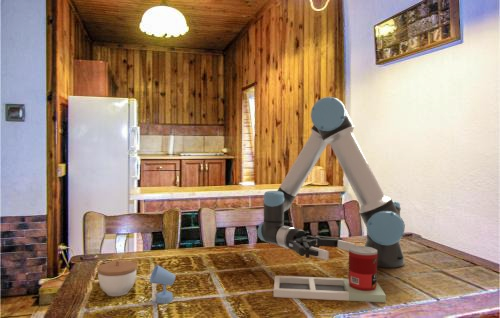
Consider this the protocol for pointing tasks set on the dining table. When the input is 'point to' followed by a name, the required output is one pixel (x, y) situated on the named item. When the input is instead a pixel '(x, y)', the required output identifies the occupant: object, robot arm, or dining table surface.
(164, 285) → the spotlight
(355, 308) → the dining table surface
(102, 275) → the lidded jar
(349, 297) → the board
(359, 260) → the canned food
